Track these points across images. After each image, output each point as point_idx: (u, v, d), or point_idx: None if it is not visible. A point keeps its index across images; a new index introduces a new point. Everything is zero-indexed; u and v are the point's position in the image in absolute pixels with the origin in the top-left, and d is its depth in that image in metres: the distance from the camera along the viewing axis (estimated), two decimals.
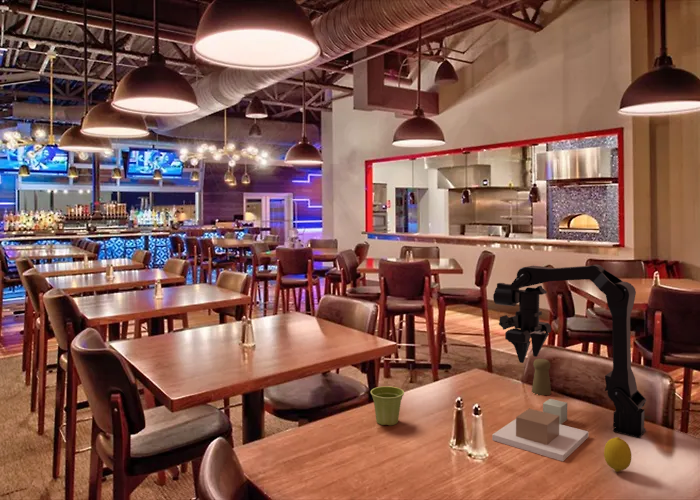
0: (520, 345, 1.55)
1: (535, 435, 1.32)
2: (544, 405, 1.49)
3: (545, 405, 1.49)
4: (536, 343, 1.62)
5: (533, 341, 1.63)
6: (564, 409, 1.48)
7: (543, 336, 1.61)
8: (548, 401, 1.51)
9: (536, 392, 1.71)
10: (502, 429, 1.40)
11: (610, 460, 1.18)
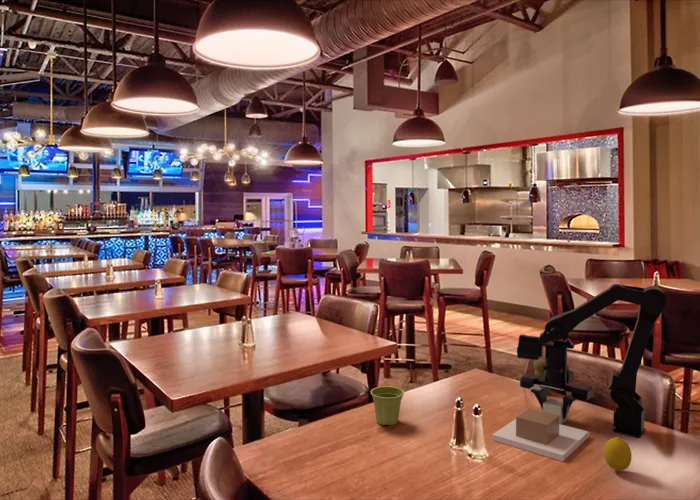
0: None
1: (535, 435, 1.32)
2: (544, 405, 1.49)
3: (545, 405, 1.49)
4: None
5: None
6: None
7: None
8: (548, 401, 1.51)
9: None
10: (502, 429, 1.40)
11: (610, 460, 1.18)
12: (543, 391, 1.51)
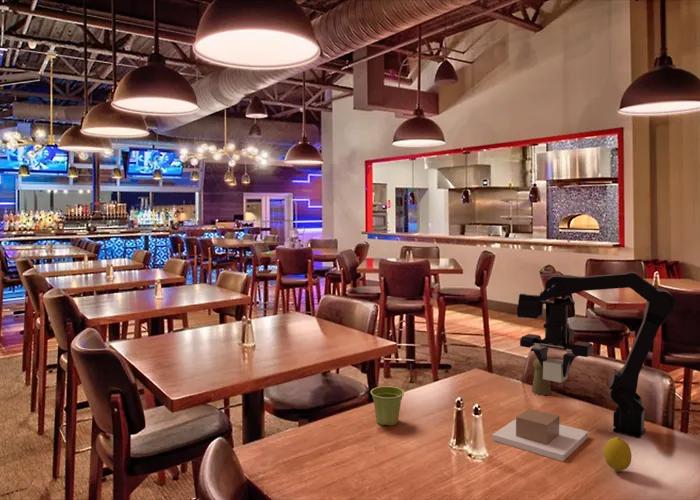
0: None
1: (535, 435, 1.32)
2: (544, 363, 1.48)
3: (545, 363, 1.48)
4: None
5: None
6: None
7: None
8: (548, 360, 1.50)
9: (536, 392, 1.71)
10: (502, 429, 1.40)
11: (610, 460, 1.18)
12: (543, 350, 1.50)
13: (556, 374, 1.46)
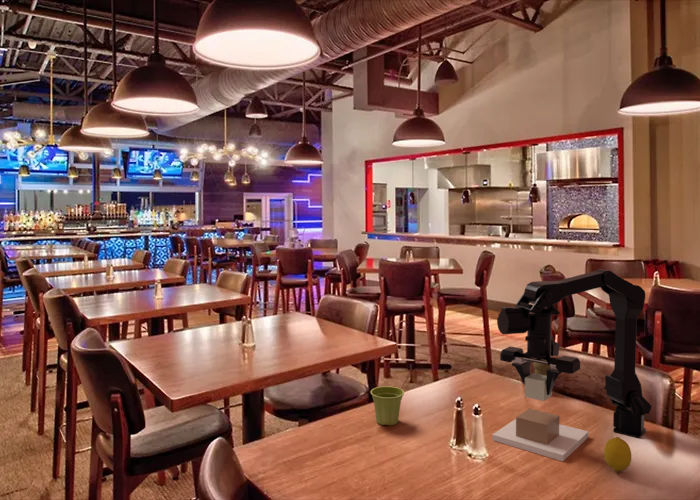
0: None
1: (535, 435, 1.32)
2: (526, 379, 1.34)
3: (527, 379, 1.34)
4: None
5: None
6: None
7: None
8: (531, 375, 1.36)
9: None
10: (502, 429, 1.40)
11: (610, 460, 1.18)
12: (525, 365, 1.36)
13: (538, 391, 1.32)
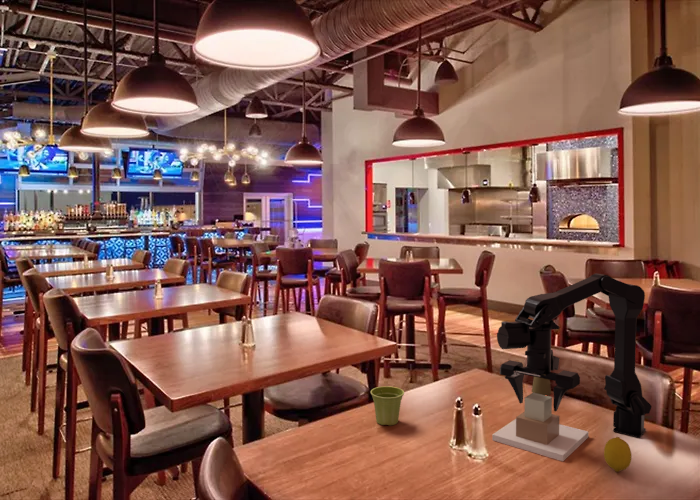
0: None
1: (535, 435, 1.32)
2: (526, 400, 1.35)
3: (527, 400, 1.35)
4: None
5: None
6: (548, 404, 1.34)
7: None
8: (531, 395, 1.36)
9: (536, 392, 1.71)
10: (502, 429, 1.40)
11: (610, 460, 1.18)
12: (518, 378, 1.38)
13: (538, 412, 1.33)
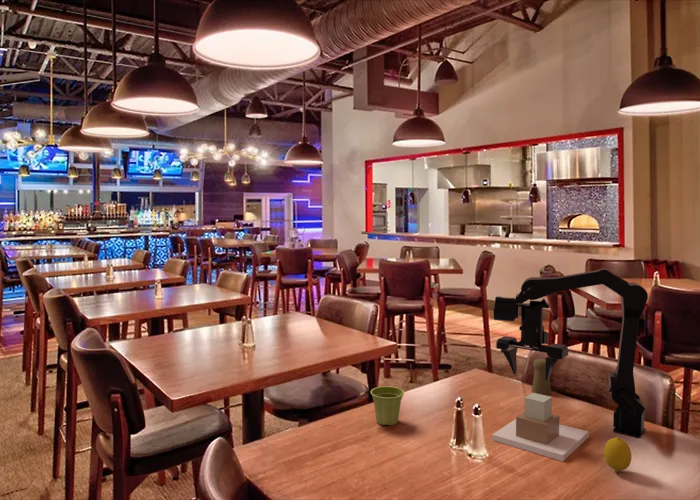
0: None
1: (535, 435, 1.32)
2: (526, 400, 1.35)
3: (527, 400, 1.35)
4: None
5: None
6: (548, 404, 1.34)
7: None
8: (531, 395, 1.36)
9: (536, 392, 1.71)
10: (502, 429, 1.40)
11: (610, 460, 1.18)
12: (512, 351, 1.53)
13: (538, 412, 1.33)
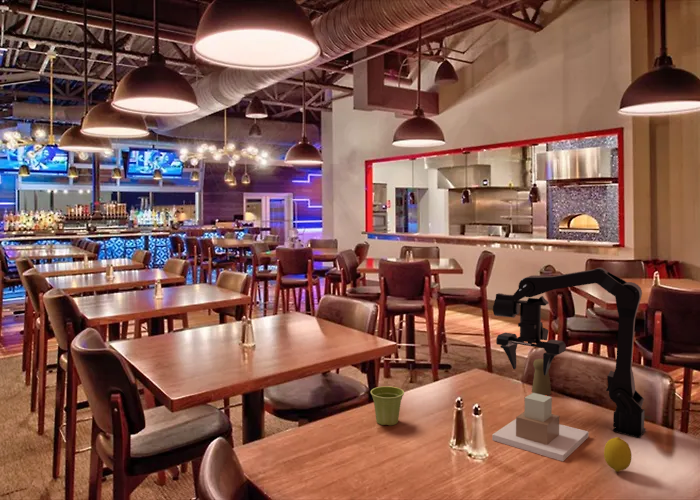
0: None
1: (535, 435, 1.32)
2: (526, 400, 1.35)
3: (527, 400, 1.35)
4: None
5: None
6: (548, 404, 1.34)
7: None
8: (531, 395, 1.36)
9: (536, 392, 1.71)
10: (502, 429, 1.40)
11: (610, 460, 1.18)
12: (512, 347, 1.58)
13: (538, 412, 1.33)
